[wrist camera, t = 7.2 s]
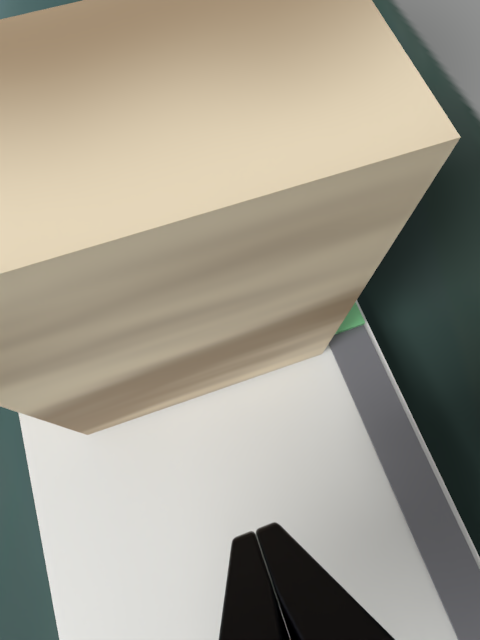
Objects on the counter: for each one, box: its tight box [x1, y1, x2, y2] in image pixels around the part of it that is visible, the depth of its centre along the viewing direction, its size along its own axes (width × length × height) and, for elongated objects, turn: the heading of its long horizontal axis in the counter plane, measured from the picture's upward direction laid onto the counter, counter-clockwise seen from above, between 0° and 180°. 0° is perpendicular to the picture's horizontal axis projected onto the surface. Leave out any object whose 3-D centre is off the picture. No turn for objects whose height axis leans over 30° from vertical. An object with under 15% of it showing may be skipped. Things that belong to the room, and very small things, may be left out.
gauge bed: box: [19, 300, 480, 640], centre depth 14 cm, size 23×12×1 cm, turn 19°
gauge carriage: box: [0, 0, 461, 435], centre depth 11 cm, size 4×10×10 cm, turn 109°
